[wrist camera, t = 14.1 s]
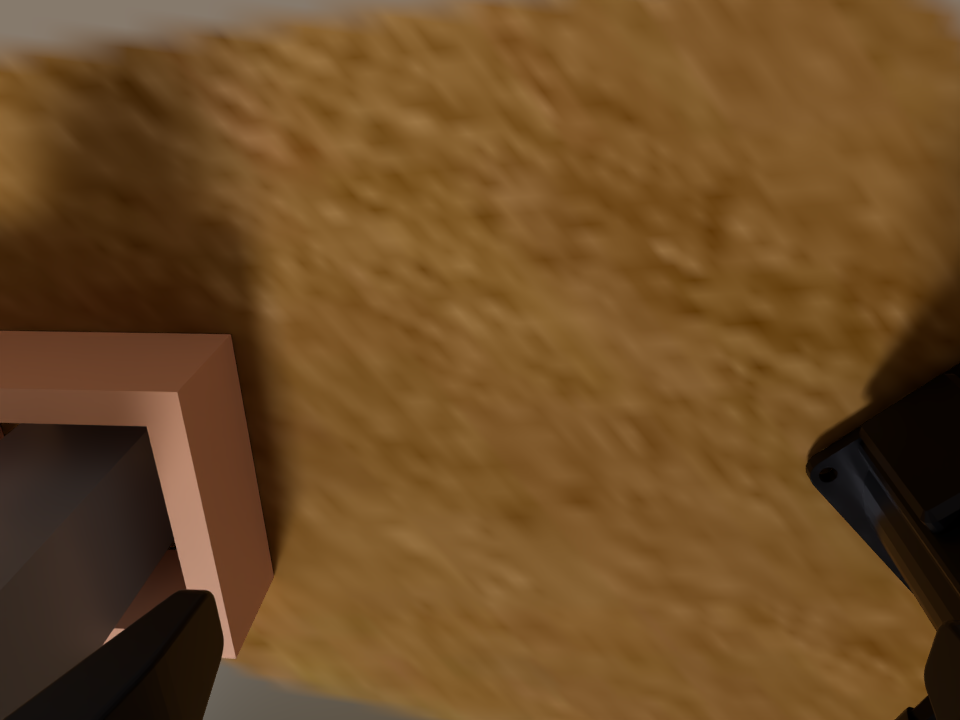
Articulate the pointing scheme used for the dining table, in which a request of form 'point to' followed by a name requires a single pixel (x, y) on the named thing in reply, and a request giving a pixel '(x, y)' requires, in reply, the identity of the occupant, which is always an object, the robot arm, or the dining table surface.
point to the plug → (71, 545)
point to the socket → (162, 449)
